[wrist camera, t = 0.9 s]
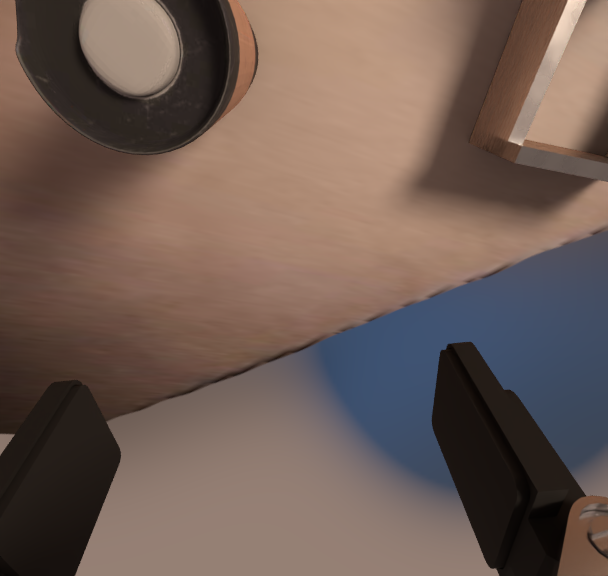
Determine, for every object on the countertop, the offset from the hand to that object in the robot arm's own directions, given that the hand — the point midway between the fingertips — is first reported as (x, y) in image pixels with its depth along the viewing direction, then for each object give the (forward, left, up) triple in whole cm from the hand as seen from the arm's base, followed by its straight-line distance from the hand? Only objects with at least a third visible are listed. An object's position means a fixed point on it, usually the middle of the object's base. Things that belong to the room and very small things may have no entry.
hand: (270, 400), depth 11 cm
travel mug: (-7, -6, -29) cm, 30 cm away
